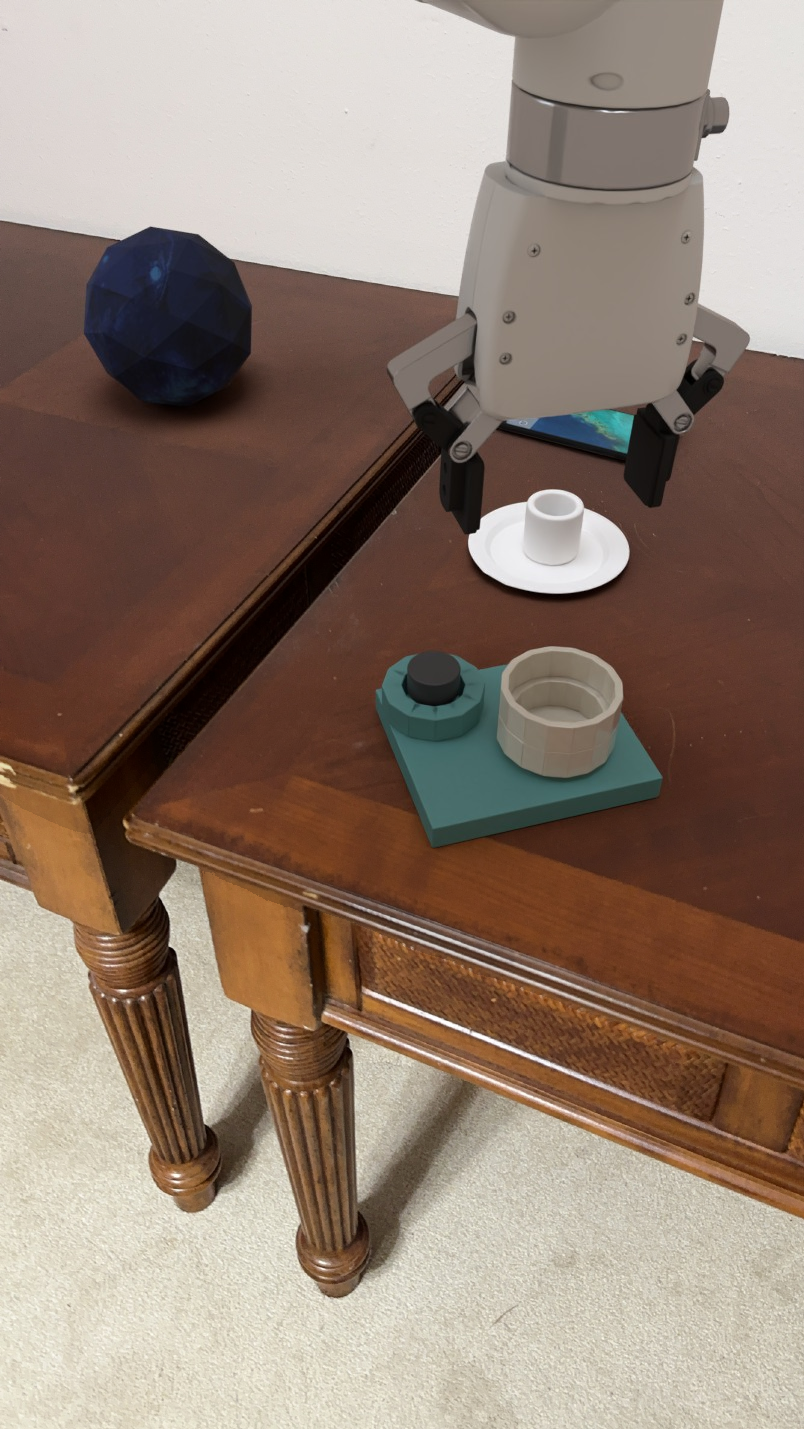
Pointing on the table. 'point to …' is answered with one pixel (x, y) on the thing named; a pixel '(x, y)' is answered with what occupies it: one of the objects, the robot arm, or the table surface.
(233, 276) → the decorative orb
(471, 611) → the table surface
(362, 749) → the table surface
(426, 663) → the button
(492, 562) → the candle holder
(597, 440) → the smartphone
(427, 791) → the teal dial base
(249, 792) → the table surface
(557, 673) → the bowl
